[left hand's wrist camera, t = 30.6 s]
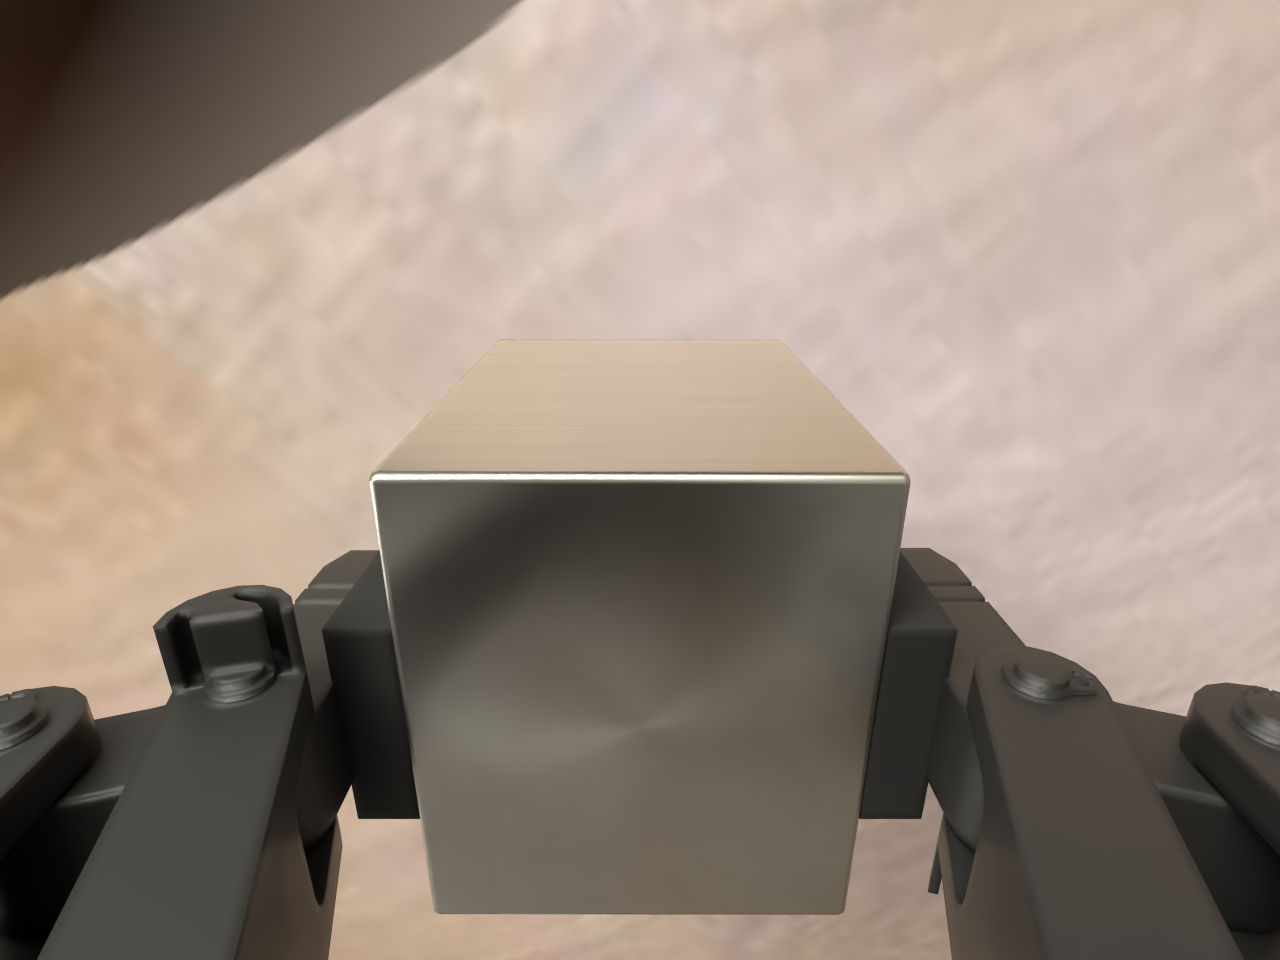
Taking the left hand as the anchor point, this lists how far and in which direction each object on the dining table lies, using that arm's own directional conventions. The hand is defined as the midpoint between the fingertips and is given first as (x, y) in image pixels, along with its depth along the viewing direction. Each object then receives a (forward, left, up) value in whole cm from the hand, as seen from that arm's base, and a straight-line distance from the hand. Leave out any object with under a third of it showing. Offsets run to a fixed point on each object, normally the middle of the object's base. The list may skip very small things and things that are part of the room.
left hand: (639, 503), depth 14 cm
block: (0, 0, -1) cm, 1 cm away
